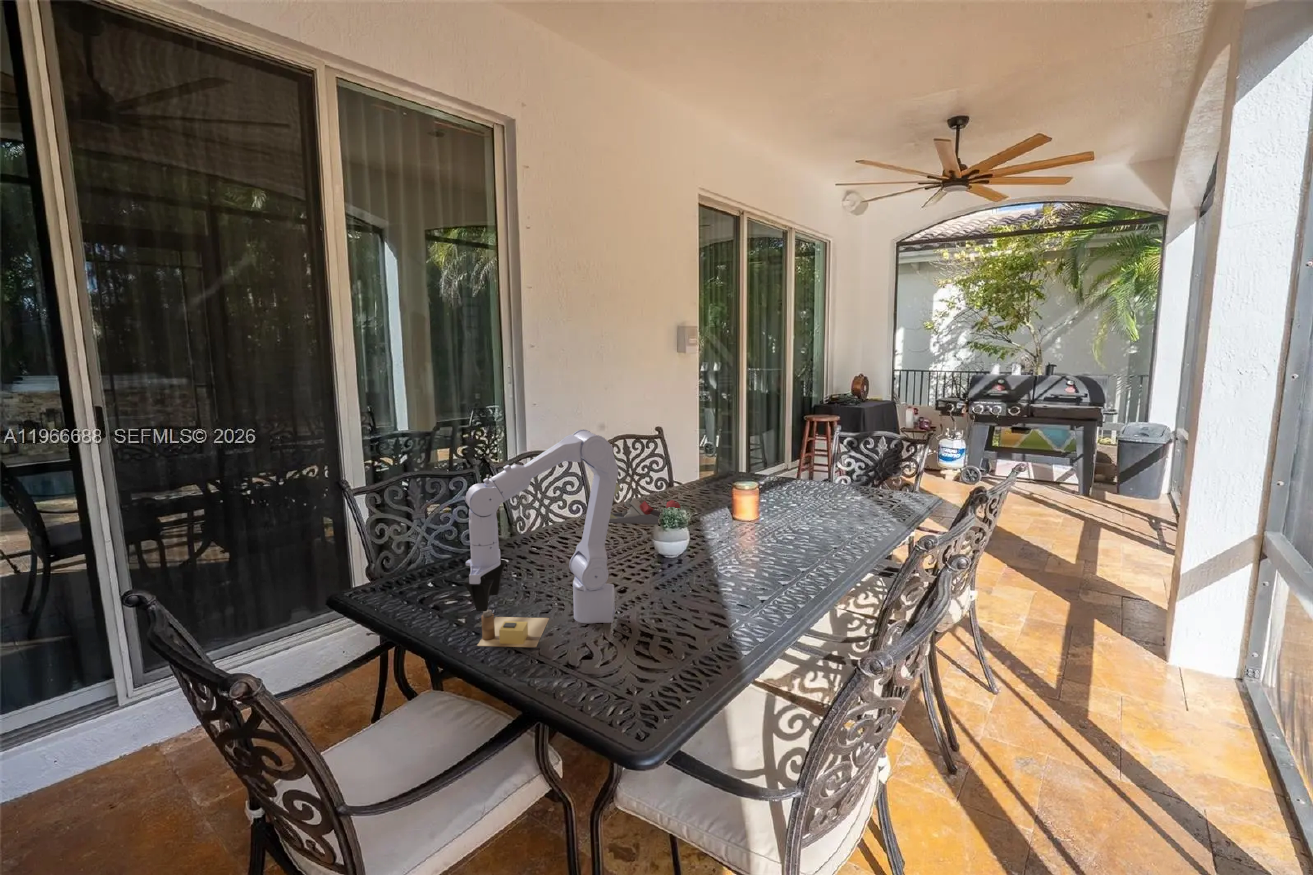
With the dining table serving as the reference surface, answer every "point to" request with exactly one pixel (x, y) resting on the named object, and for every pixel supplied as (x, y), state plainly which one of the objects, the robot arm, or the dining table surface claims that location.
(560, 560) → the dining table surface
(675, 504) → the hand plane
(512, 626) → the stud finder
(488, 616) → the brown gray-topped cylinder
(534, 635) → the plywood panel
